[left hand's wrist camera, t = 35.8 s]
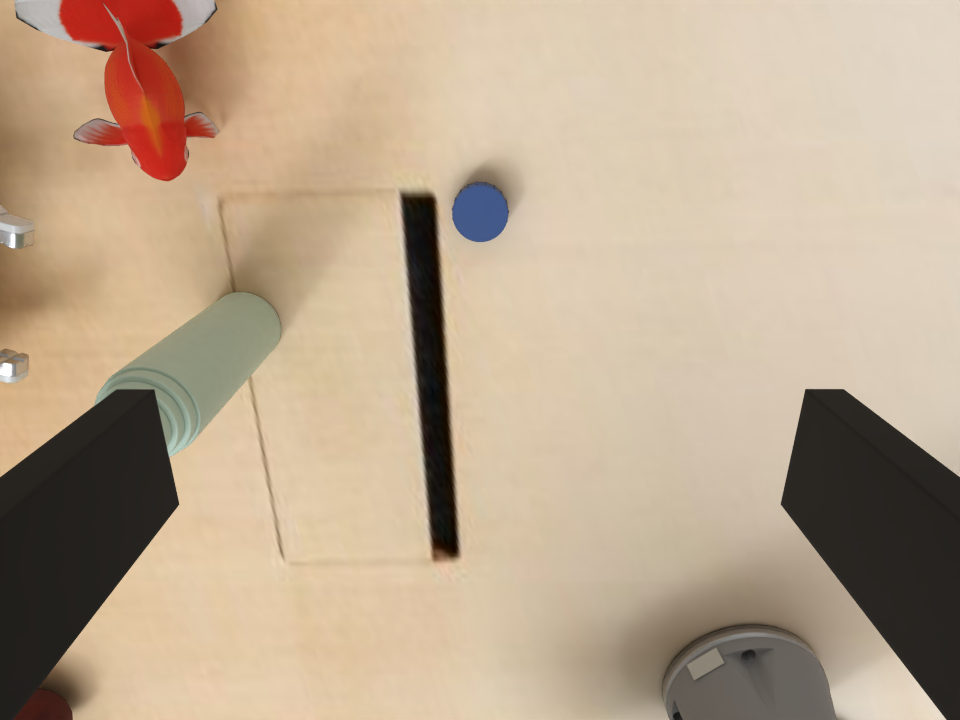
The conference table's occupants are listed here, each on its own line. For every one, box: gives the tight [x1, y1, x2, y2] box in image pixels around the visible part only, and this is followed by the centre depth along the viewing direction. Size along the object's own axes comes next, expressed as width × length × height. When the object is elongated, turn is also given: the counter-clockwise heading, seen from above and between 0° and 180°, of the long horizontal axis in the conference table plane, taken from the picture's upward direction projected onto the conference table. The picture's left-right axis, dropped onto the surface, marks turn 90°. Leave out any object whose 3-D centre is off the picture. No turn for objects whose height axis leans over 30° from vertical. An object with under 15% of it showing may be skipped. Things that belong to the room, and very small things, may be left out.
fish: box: [15, 0, 219, 181], centre depth 36 cm, size 11×16×10 cm
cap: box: [452, 182, 509, 242], centre depth 43 cm, size 4×4×2 cm
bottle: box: [94, 292, 281, 457], centre depth 37 cm, size 5×5×21 cm
